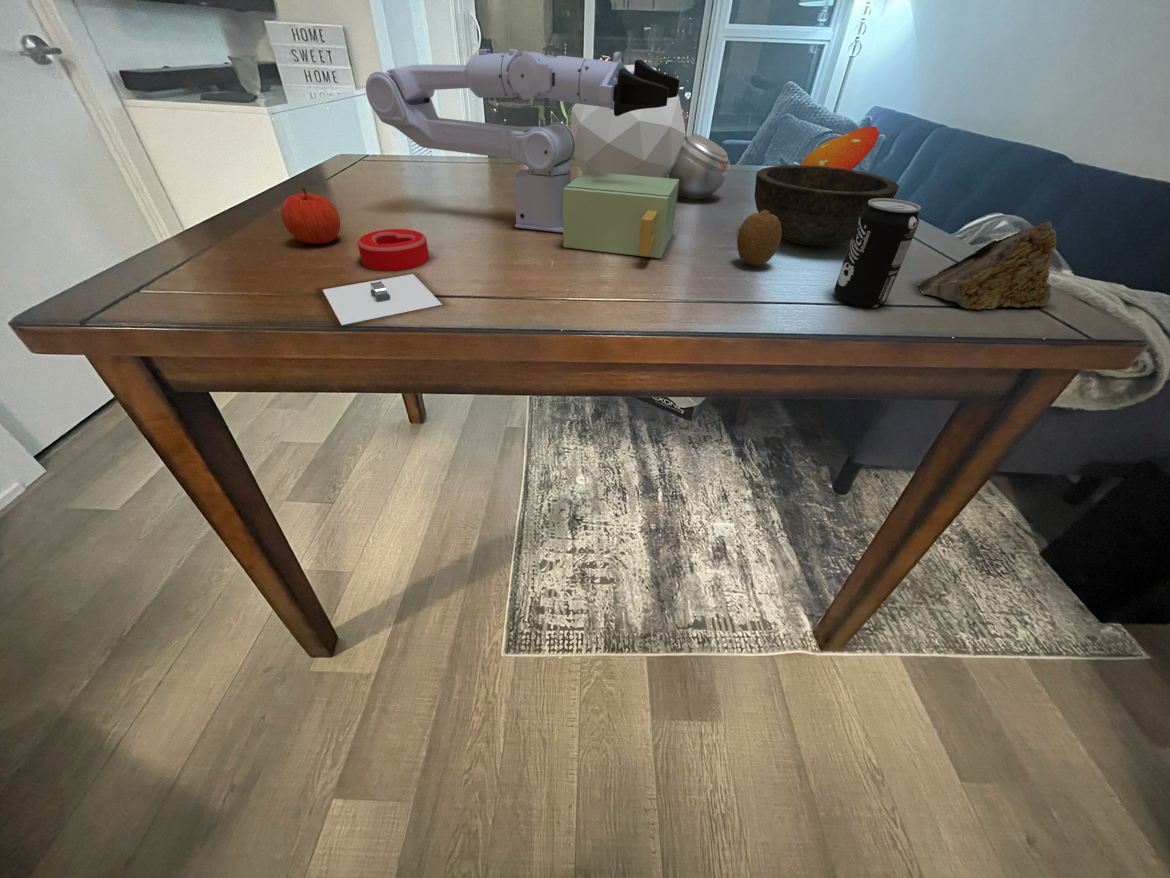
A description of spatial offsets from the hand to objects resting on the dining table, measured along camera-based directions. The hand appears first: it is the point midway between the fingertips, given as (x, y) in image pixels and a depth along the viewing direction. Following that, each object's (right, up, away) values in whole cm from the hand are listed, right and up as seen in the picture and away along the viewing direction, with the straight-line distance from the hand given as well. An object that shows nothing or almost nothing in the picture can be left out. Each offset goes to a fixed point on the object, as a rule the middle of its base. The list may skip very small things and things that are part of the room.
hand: (672, 92), depth 73 cm
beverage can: (+24, -32, -6) cm, 41 cm away
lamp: (+1, +2, +37) cm, 37 cm away
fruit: (+13, -24, +4) cm, 28 cm away
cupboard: (-7, -17, +12) cm, 22 cm away
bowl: (+26, -16, +14) cm, 34 cm away
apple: (-56, -19, +7) cm, 60 cm away
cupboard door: (-9, -23, +5) cm, 25 cm away
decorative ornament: (-41, -24, +2) cm, 48 cm away
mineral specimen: (+42, -31, -3) cm, 53 cm away
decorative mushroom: (+36, -2, +33) cm, 49 cm away
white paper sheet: (-39, -33, -9) cm, 52 cm away
